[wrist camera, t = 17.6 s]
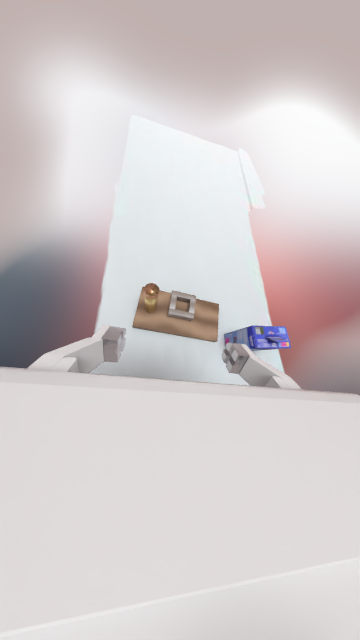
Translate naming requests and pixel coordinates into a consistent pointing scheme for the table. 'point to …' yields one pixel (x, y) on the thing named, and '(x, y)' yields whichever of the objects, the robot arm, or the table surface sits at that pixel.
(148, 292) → the brass copper-topped peg
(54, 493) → the robot arm
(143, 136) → the table surface
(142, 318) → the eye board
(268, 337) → the ink cartridge box
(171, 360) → the table surface
